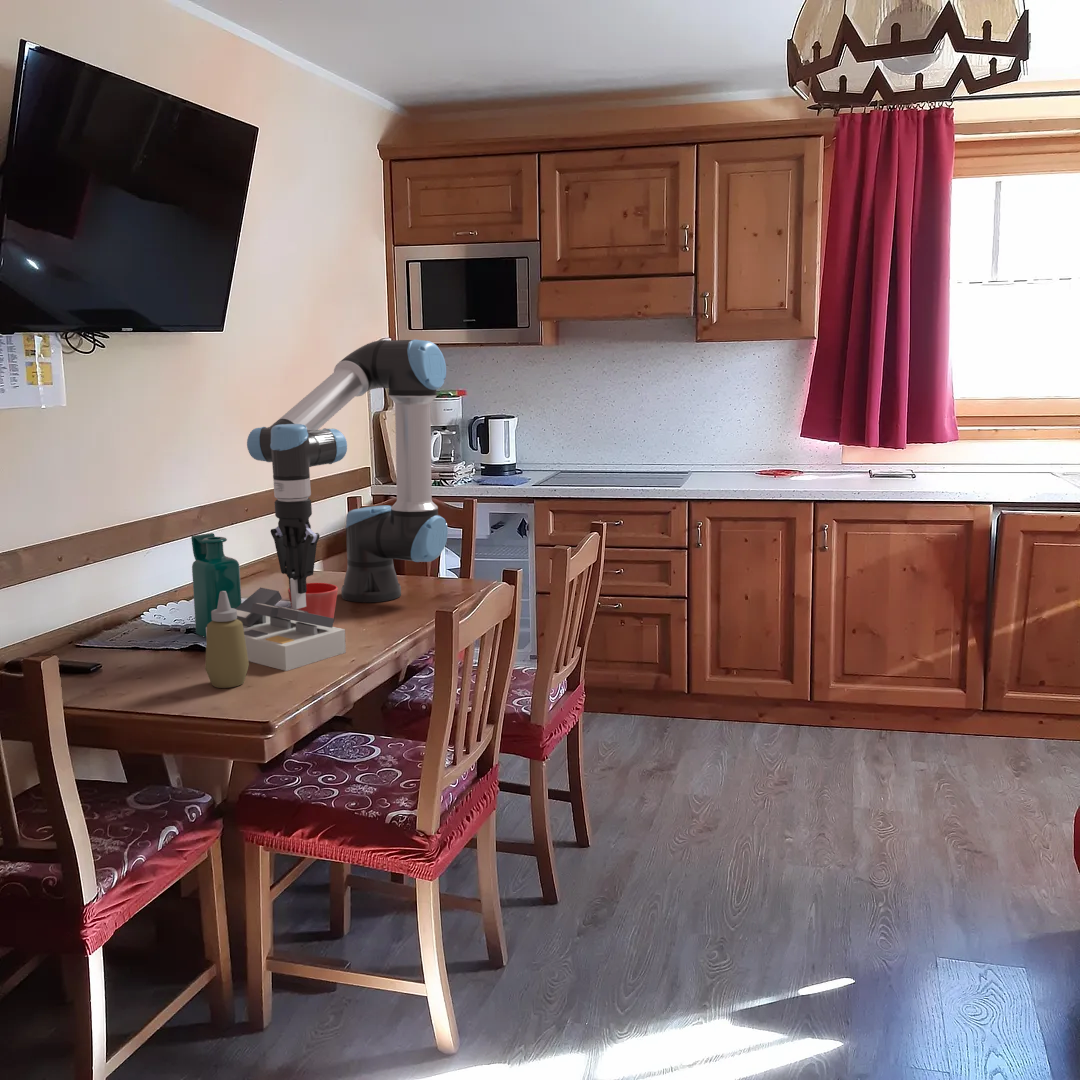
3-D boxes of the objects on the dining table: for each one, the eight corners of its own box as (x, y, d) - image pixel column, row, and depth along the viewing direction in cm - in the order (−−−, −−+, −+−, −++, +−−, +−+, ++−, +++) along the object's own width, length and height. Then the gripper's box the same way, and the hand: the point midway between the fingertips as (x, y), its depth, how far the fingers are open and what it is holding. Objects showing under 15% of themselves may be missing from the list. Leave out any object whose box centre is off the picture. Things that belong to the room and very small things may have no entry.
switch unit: (267, 634, 237) (265, 604, 235) (345, 652, 222) (344, 621, 221) (207, 650, 224) (205, 619, 223) (286, 671, 209) (284, 637, 208)
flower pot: (328, 636, 234) (326, 594, 233) (282, 634, 237) (280, 591, 235) (346, 624, 245) (344, 583, 243) (301, 622, 247) (300, 581, 245)
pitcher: (246, 633, 237) (241, 536, 233) (212, 641, 231) (206, 541, 227) (223, 625, 244) (218, 531, 240) (189, 633, 238) (183, 536, 234)
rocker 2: (287, 616, 228) (289, 607, 229) (306, 620, 225) (308, 611, 225) (251, 612, 220) (253, 602, 220) (270, 616, 217) (272, 606, 217)
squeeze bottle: (211, 678, 205) (205, 587, 202) (253, 677, 206) (249, 586, 202) (201, 691, 197) (195, 597, 194) (245, 690, 198) (240, 596, 194)
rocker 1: (264, 594, 233) (260, 587, 232) (282, 598, 229) (278, 590, 228) (231, 622, 226) (227, 614, 225) (249, 626, 223) (245, 618, 222)
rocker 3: (312, 623, 224) (314, 613, 224) (332, 627, 220) (334, 617, 220) (276, 616, 216) (279, 606, 216) (296, 621, 212) (299, 610, 212)
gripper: (258, 498, 223) (265, 606, 228) (300, 503, 215) (306, 615, 220) (285, 493, 229) (292, 599, 234) (327, 498, 221) (333, 607, 226)
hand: (299, 607), depth 227 cm, fingers closed
